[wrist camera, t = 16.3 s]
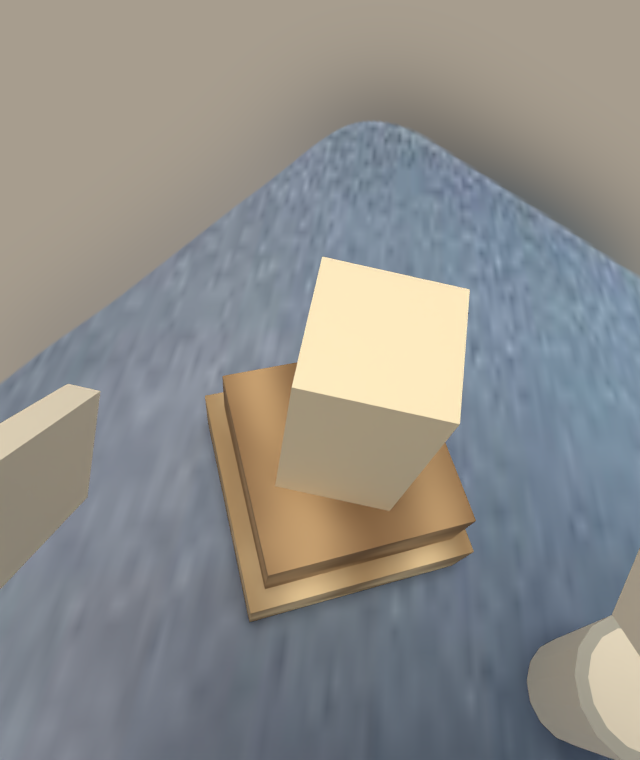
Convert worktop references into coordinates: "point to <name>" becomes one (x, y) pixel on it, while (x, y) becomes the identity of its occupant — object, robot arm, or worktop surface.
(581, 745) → the shot glass
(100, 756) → the worktop surface
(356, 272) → the cream brick
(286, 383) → the block tower
